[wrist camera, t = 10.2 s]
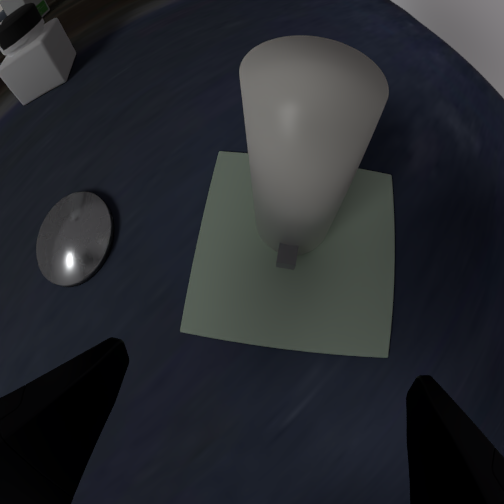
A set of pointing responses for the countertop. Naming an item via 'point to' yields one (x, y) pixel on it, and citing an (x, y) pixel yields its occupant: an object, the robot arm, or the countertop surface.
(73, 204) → the grey shallow disc
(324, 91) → the grey rounded post
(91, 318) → the countertop surface
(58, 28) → the medicine bottle
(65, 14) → the countertop surface
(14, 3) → the skincare box
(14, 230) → the countertop surface
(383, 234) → the mat
